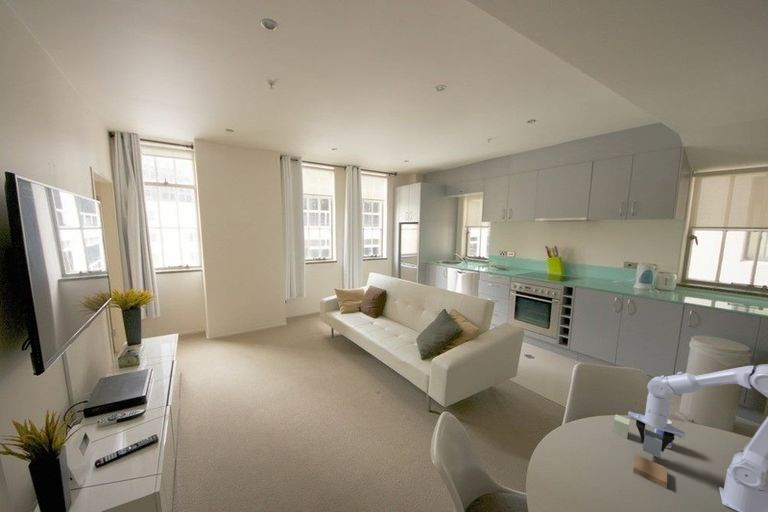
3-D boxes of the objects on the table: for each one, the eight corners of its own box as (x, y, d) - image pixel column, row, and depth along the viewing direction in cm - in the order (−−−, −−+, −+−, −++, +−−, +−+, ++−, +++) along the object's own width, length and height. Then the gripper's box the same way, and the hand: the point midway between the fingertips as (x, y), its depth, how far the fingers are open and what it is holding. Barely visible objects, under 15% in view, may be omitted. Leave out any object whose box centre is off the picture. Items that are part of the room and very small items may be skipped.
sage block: (628, 433, 112) (629, 419, 111) (627, 439, 109) (628, 425, 108) (613, 427, 115) (615, 414, 115) (612, 432, 112) (614, 419, 111)
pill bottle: (675, 450, 104) (679, 426, 103) (659, 447, 105) (662, 423, 104) (664, 439, 109) (667, 416, 108) (648, 436, 110) (651, 414, 109)
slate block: (660, 450, 100) (662, 435, 99) (660, 457, 97) (662, 442, 96) (643, 443, 103) (645, 428, 102) (642, 450, 100) (644, 435, 99)
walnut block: (665, 474, 94) (666, 467, 94) (666, 489, 88) (667, 482, 88) (634, 460, 100) (635, 453, 99) (632, 473, 94) (633, 467, 94)
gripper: (686, 415, 96) (680, 451, 97) (630, 396, 106) (626, 429, 108) (687, 425, 91) (681, 463, 92) (629, 404, 101) (624, 438, 103)
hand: (652, 445), depth 100 cm, fingers closed on slate block, 4 cm apart
